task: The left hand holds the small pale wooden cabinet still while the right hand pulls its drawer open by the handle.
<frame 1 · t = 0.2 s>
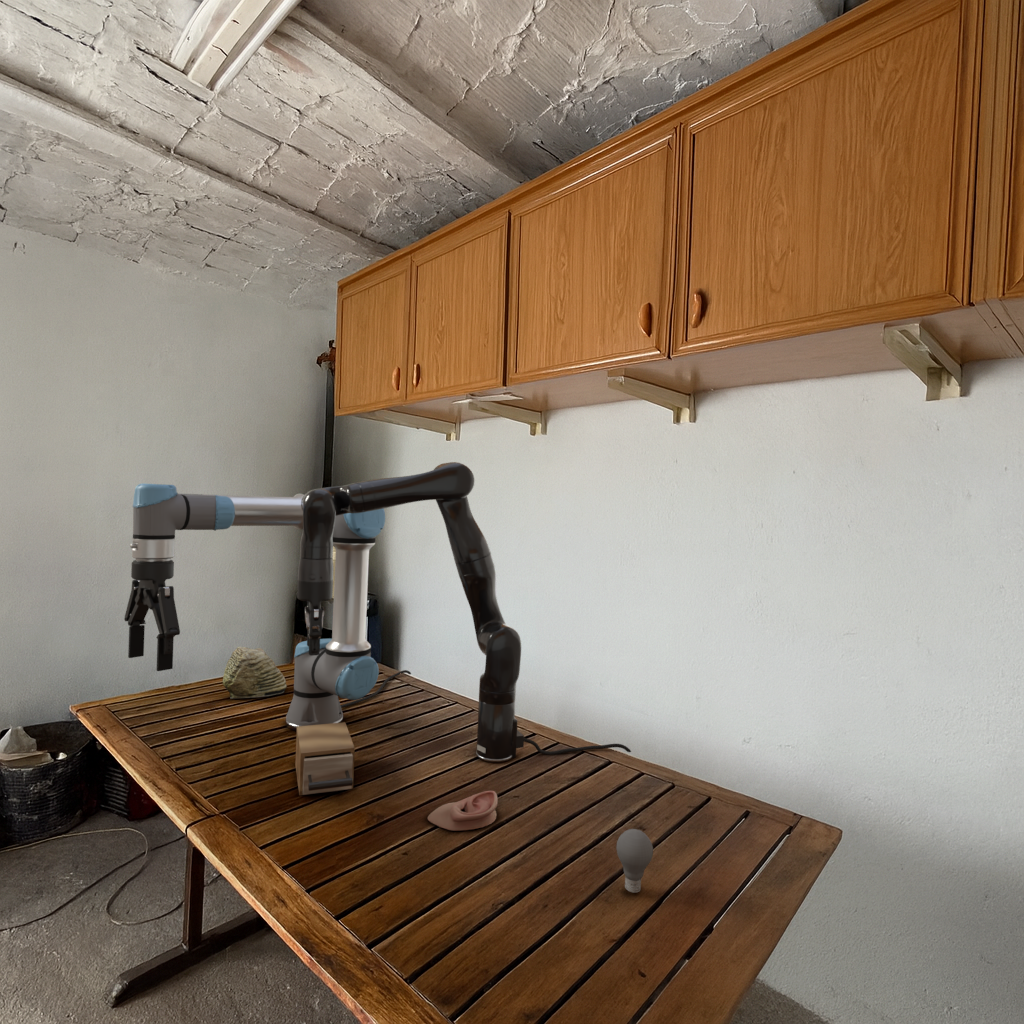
left hand: (149, 663, 129), 28 cm above the table, tool pointing down, fingers open, 13 cm apart
right hand: (312, 650, 142), 29 cm above the table, tool pointing down, fingers open, 8 cm apart
fossil: (254, 694, 198), on the table
drawer: (326, 766, 138), point 5 cm above the table, slide at 0.7 cm
light bulb: (632, 891, 106), on the table
cabinet: (323, 776, 144), on the table
anatomical model: (462, 818, 127), on the table
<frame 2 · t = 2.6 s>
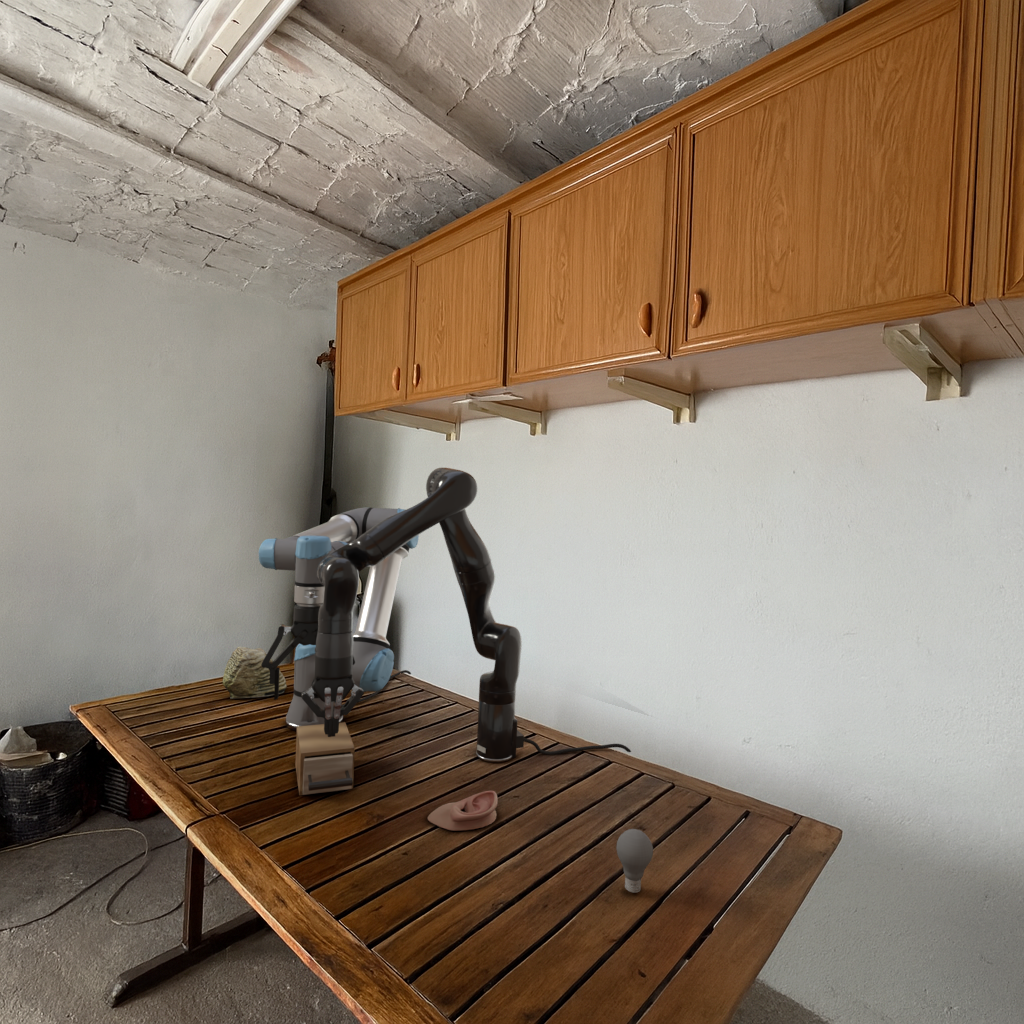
left hand: (308, 696, 144), 18 cm above the table, tool pointing down, fingers open, 13 cm apart
right hand: (331, 735, 131), 14 cm above the table, tool pointing down, fingers closed
nothing on the table moved.
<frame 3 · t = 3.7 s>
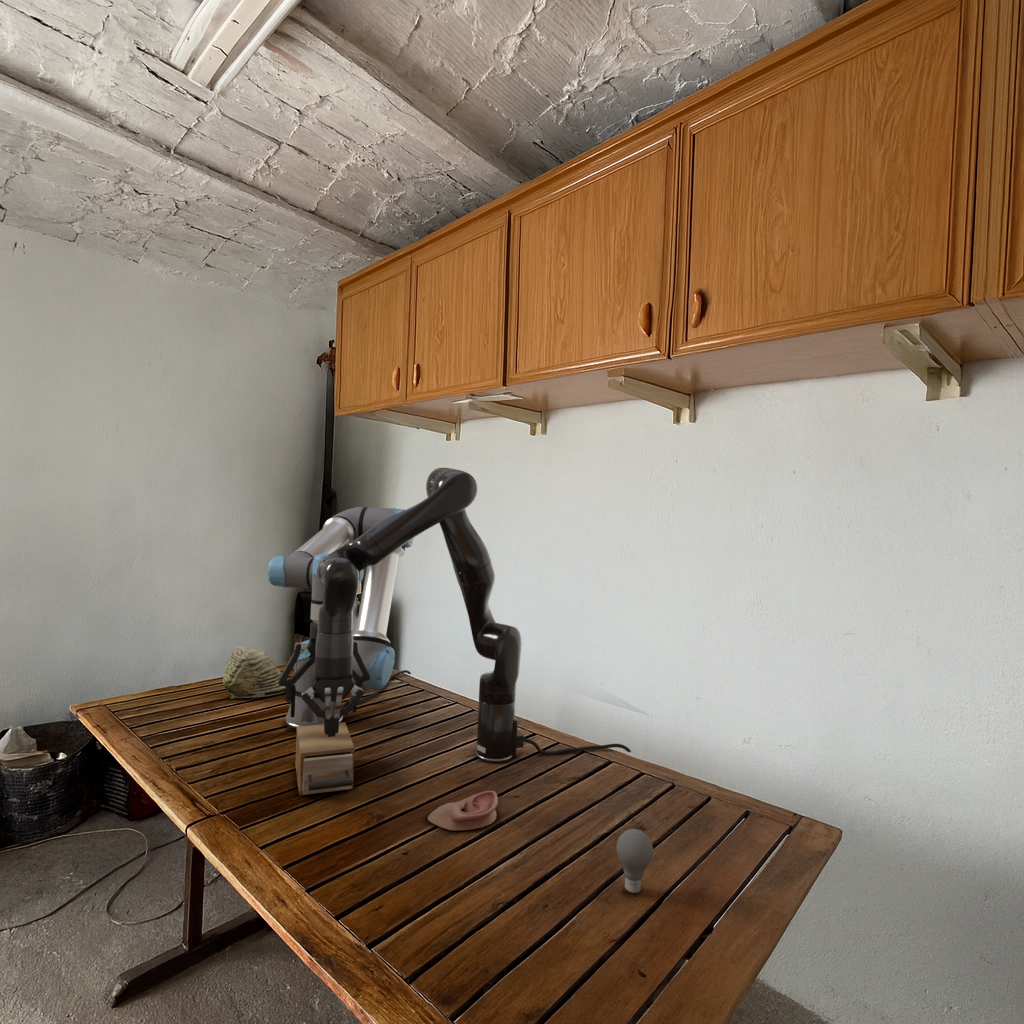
left hand: (323, 713, 146), 13 cm above the table, tool pointing down, fingers open, 13 cm apart
right hand: (331, 735, 131), 14 cm above the table, tool pointing down, fingers closed
nothing on the table moved.
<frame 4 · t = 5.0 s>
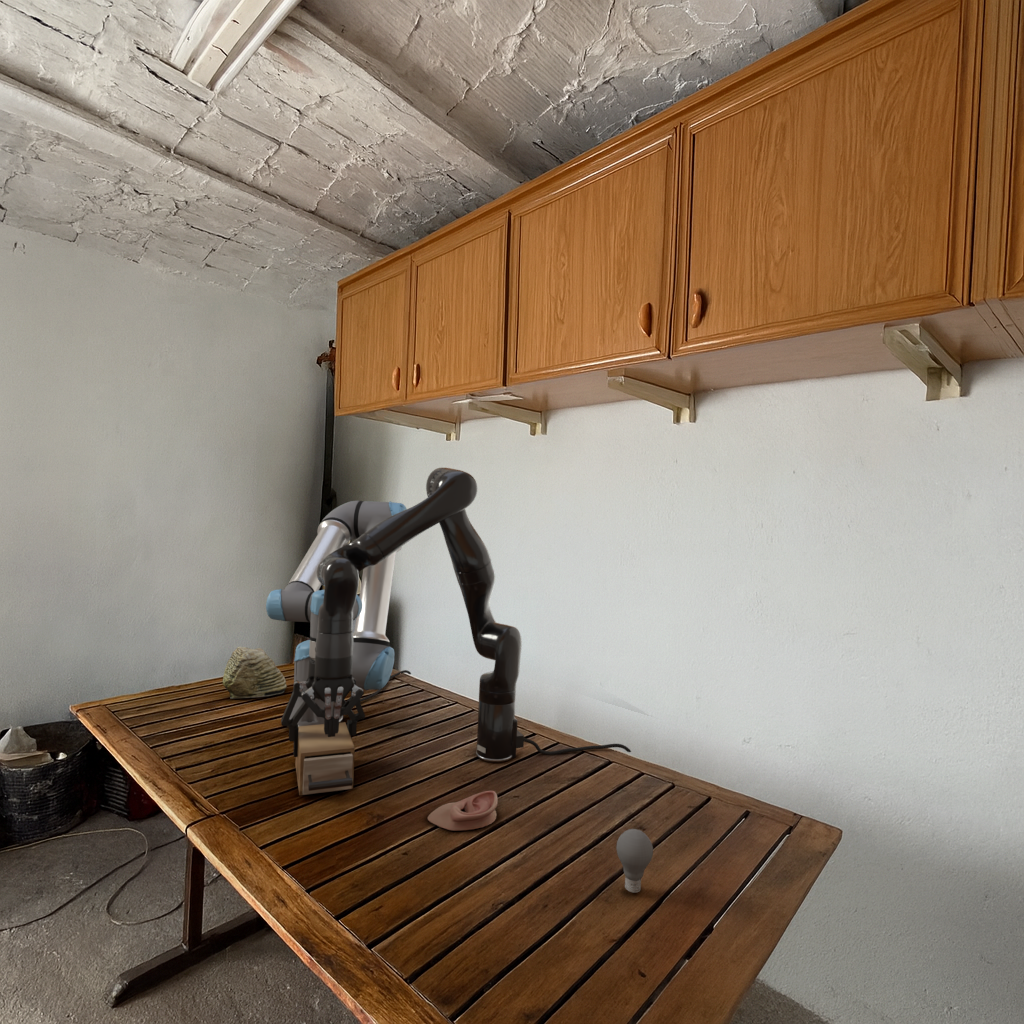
left hand: (322, 751, 146), 4 cm above the table, tool pointing down, fingers closed on cabinet, 11 cm apart
right hand: (331, 735, 131), 14 cm above the table, tool pointing down, fingers closed
cabinet: (323, 776, 144), on the table, touching left hand
everything else where it was.
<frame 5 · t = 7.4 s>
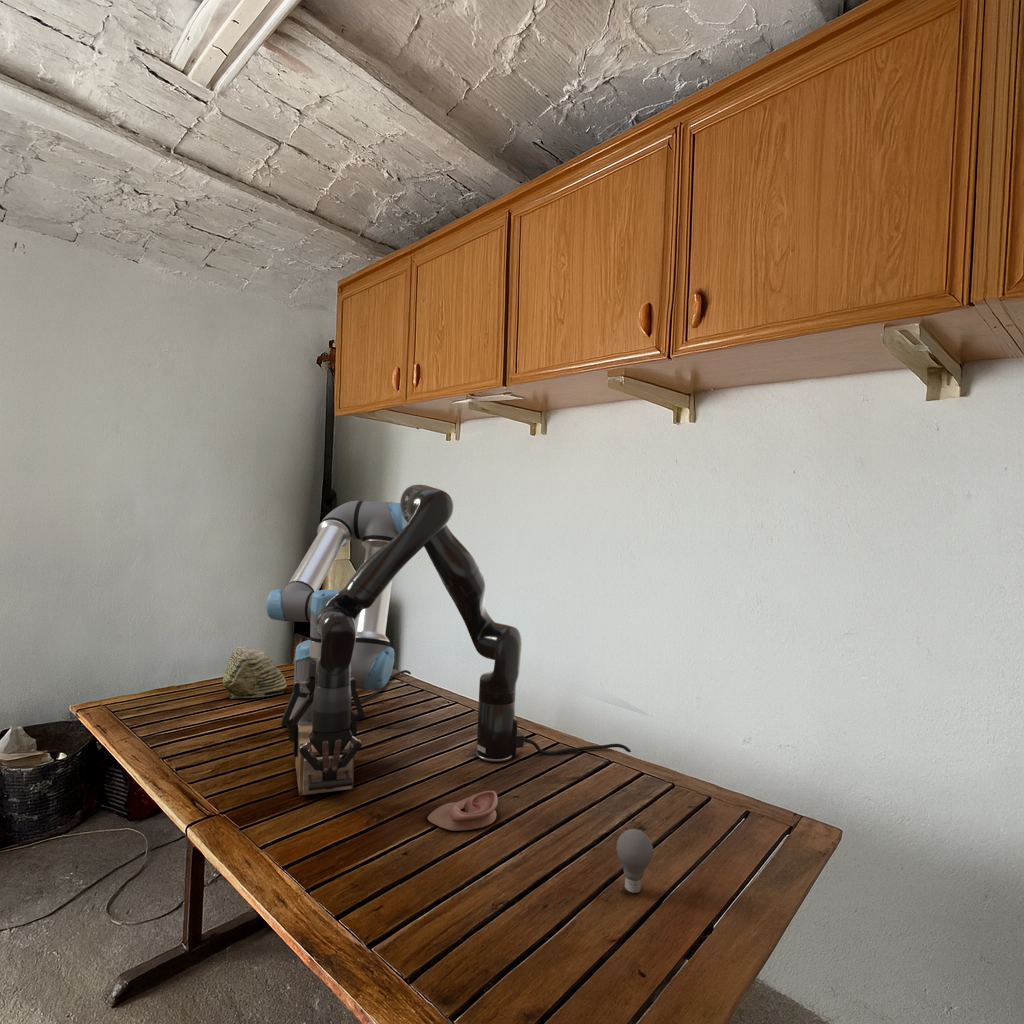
left hand: (322, 751, 146), 4 cm above the table, tool pointing down, fingers closed on cabinet, 11 cm apart
right hand: (329, 787, 131), 3 cm above the table, tool pointing down, fingers closed
drawer: (326, 766, 138), point 5 cm above the table, slide at 0.8 cm, touching right hand
cabinet: (323, 776, 144), on the table, touching left hand
everything else where it was.
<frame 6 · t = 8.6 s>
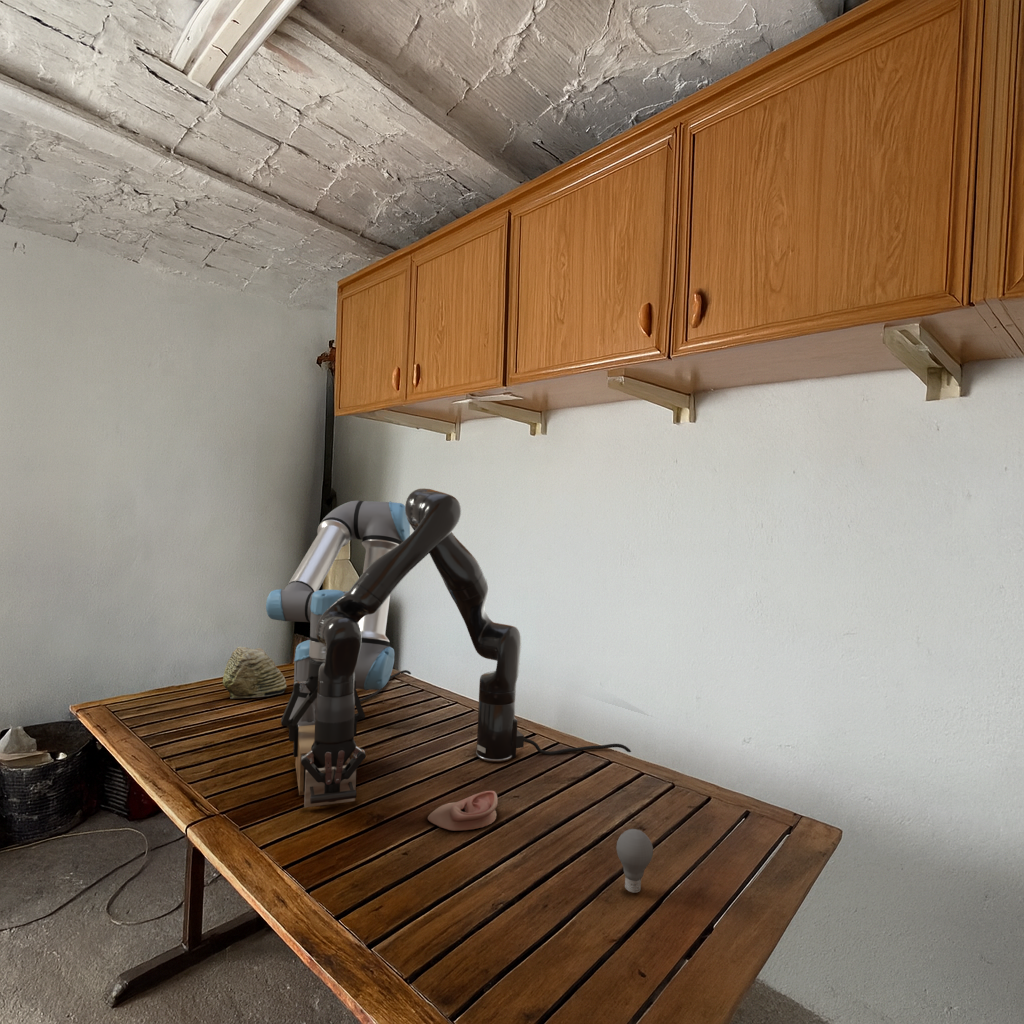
left hand: (322, 752, 146), 4 cm above the table, tool pointing down, fingers closed on cabinet, 11 cm apart
right hand: (331, 800, 126), 3 cm above the table, tool pointing down, fingers closed
drawer: (328, 777, 133), point 5 cm above the table, slide at 6.3 cm, touching right hand
cabinet: (323, 776, 143), on the table, touching left hand
everything else where it was.
when the left hand's fingers open (4 cm above the table, at t = 10.1 s): cabinet stays where it is, on the table.
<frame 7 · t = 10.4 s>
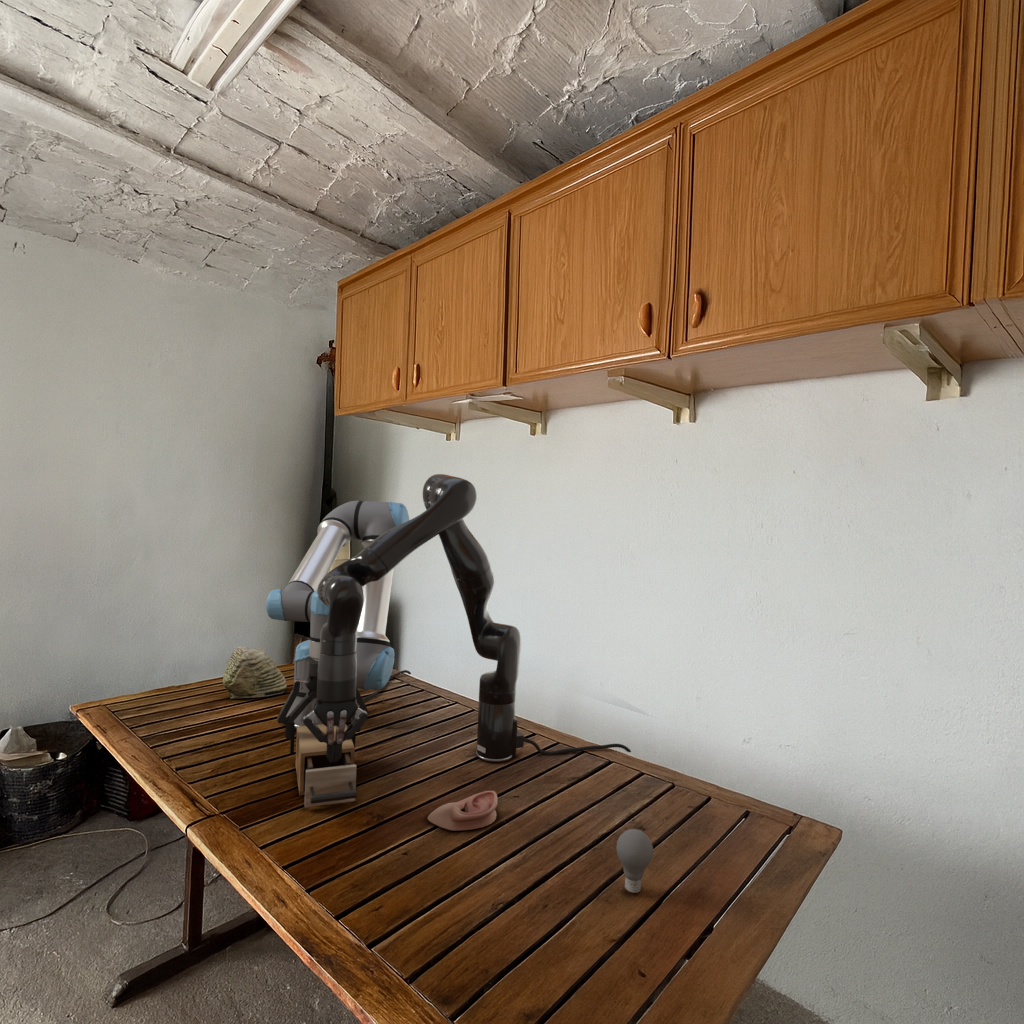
left hand: (322, 749, 146), 5 cm above the table, tool pointing down, fingers open, 13 cm apart
right hand: (333, 760, 126), 11 cm above the table, tool pointing down, fingers closed
drawer: (328, 777, 133), point 5 cm above the table, slide at 6.3 cm
cabinet: (323, 776, 143), on the table
everything else where it was.
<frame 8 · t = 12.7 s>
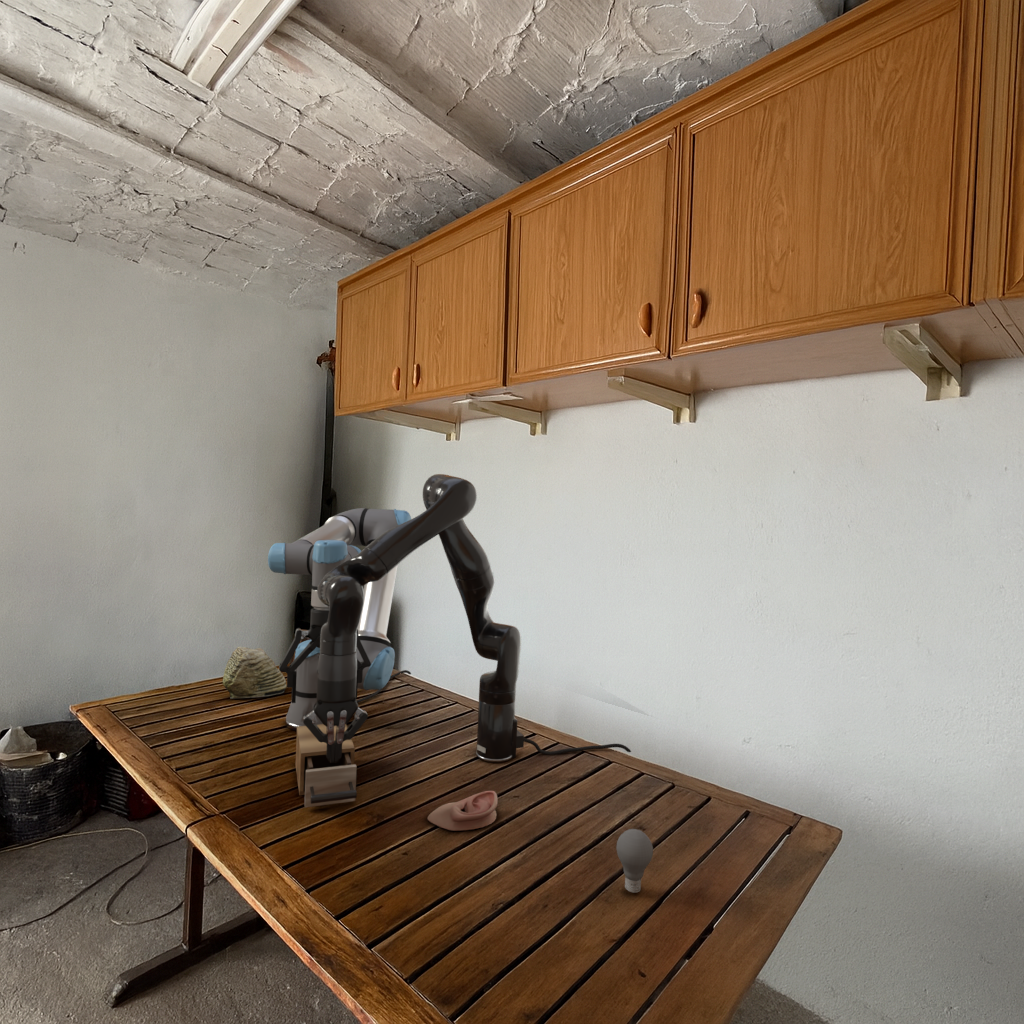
left hand: (324, 699, 146), 17 cm above the table, tool pointing down, fingers open, 13 cm apart
right hand: (333, 760, 126), 11 cm above the table, tool pointing down, fingers closed
nothing on the table moved.
at the end: drawer slide at 6.3 cm; cabinet tilted 0°; cabinet never tilted more than 1° during the clip; cabinet moved 0.1 cm from its start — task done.
